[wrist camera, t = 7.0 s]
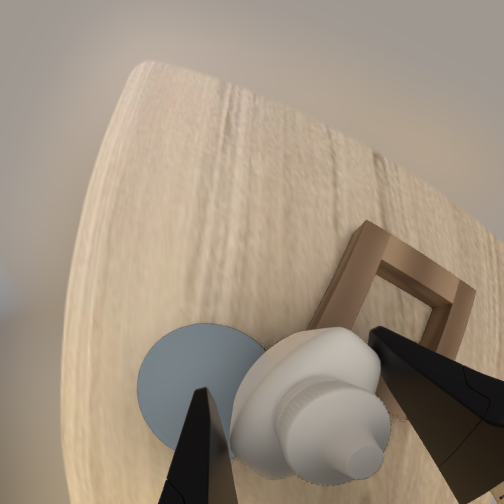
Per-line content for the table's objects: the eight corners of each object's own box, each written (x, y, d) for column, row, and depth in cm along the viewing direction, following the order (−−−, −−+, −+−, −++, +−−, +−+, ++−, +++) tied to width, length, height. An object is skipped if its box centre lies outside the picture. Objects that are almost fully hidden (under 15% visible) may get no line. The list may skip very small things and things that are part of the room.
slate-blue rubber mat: (307, 367, 22) (309, 368, 21) (236, 479, 19) (236, 482, 19) (181, 297, 23) (180, 296, 23) (116, 410, 20) (114, 411, 20)
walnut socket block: (456, 296, 23) (476, 290, 21) (407, 419, 20) (424, 426, 18) (353, 232, 25) (366, 219, 22) (287, 364, 22) (294, 368, 19)
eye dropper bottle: (217, 358, 16) (155, 405, 4) (315, 324, 16) (455, 286, 5) (244, 430, 15) (248, 582, 3) (340, 395, 15) (491, 463, 4)
